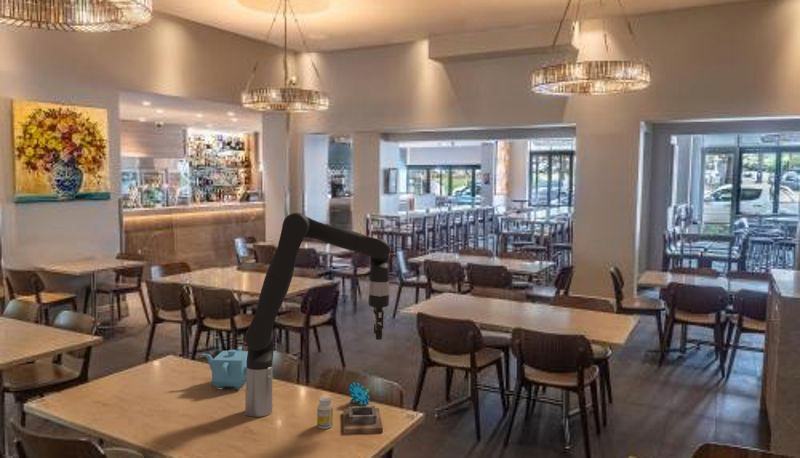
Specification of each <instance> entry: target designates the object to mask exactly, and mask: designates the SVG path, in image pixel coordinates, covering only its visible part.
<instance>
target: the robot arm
mask: <svg viewBox="0 0 800 458" xmlns="http://www.w3.org/2000/svg"><path fill="white" fill-rule="evenodd" d="M280 232H281V233H280V236H279V238H278V239H279V240H278V244H277V248H276V250H275V252H274V254H273V257H272V259H271V261H270V262H269V266H268V268H267V271H266V274H265V277H264V279H263V283H262V286H261V289H260V294H259V297H258V302H257V306H256V310H255V313H254V316H253V318H252V320H251V322H250V325H249V327H248V329H247V330H246V332H245V335H244V337H245V339H244V340H245V344H246V346H247V351H248V354H247V361H246V369H247V381H246V388H245V391H244V393H245V400H244V401H245V405H244V406H245V412H244V413H245V414H244V415H245V416H249V417H254V418H259V417H260V418H261V417H267V416H269V415H271V414H272V413H273V407H274V405H273V362H274V361H273V360H274V340H275V339H274V338H275V337H274V336H275V335H274V325H275V321H276V318H277V315H278V313H279V311H280V309H281V307H282V305H283V303H284V301H285V299H286V297H287V294H288V291H289V289H290V286H291V283H292V279H293V276H294V272H295V267H296V259H297V256H298V253H299V250H300V247H301V245H302V243H303V240H304V238H306V239H307V238H308V239H313V240H318V241H322V242H325V243H327V244H331V245H333V246H336V247H338V248H341V249H344V250H348V251H350V252H351V251H352V252H355V253H361V254H363V255H366V256H368V257H370V269H369V284H368V304H367V305H368V306H369V307H372V308H373V309H372V320H373V321H372V322H373V334H374V335H375V340H377V341H378V340H379V341H381V340H382V339H383V329H384V322H385V321H384V319H385V311H384V310H383V308H387V307H389V306H390V305H389V304H390V283H389V282H390V269H389V256H390V253H391V246H390V244H389V242H388V241H387V240H385V239H383V238H375V237H371V236H367V235H366V234H364V233H360V232H357V231H353V230H350V229H346V228H342V227H338V226H334V225H329V224H326V223H323V222H319V221H317V220H315V219H313V218H311V217H308V216H306V215H305V214H303V213H300V212H292V213H290V214H288V215H286V217H285V218H284V219H283V222H282V226H281V231H280Z"/></svg>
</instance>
